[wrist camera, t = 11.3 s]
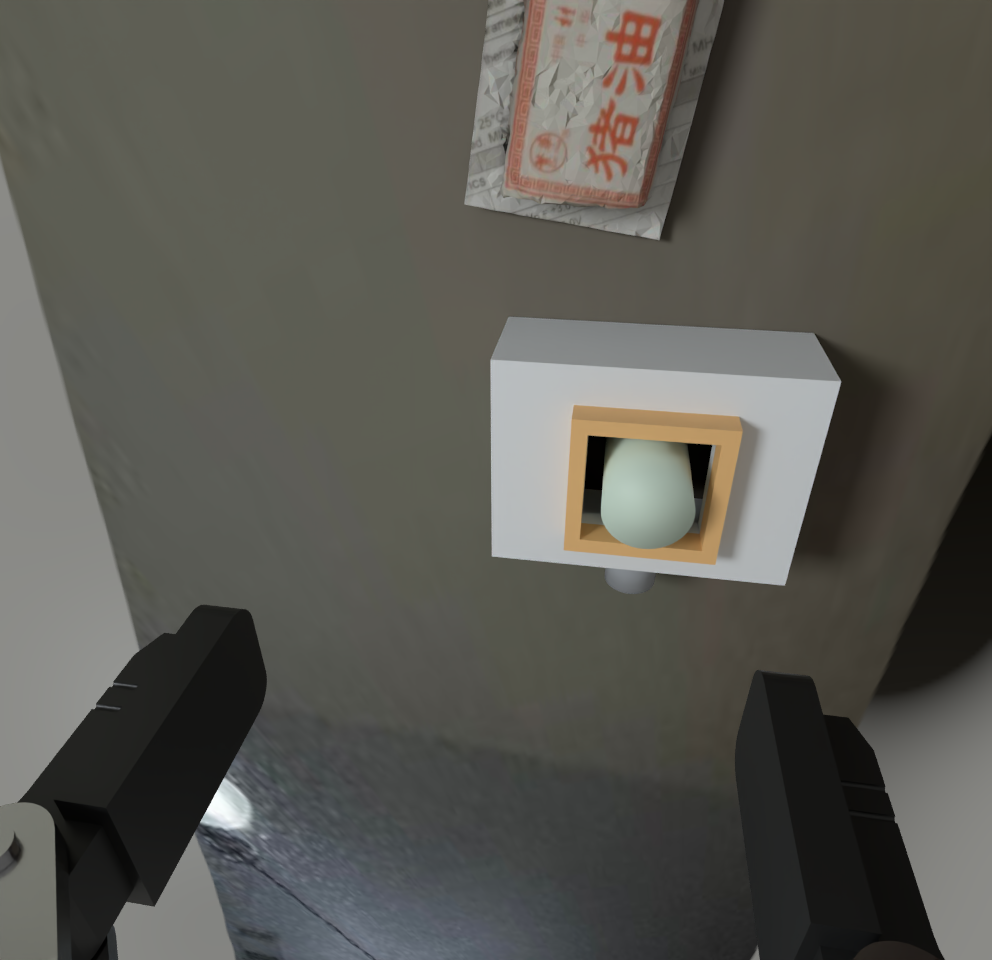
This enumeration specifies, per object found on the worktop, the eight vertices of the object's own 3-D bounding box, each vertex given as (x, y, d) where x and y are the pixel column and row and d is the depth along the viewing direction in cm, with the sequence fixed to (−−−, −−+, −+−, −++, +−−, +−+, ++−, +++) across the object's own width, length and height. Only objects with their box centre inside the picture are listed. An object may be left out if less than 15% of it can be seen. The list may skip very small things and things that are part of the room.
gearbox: (508, 316, 40) (485, 372, 34) (814, 333, 38) (849, 395, 31) (506, 535, 48) (487, 613, 42) (758, 559, 46) (777, 645, 39)
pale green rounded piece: (610, 386, 41) (604, 468, 34) (689, 391, 40) (702, 476, 33) (604, 453, 43) (597, 544, 36) (679, 459, 43) (688, 553, 35)
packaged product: (509, -347, 23) (817, -300, 23) (527, -293, 27) (790, -252, 27) (447, 222, 33) (662, 264, 33) (468, 200, 37) (659, 237, 37)
